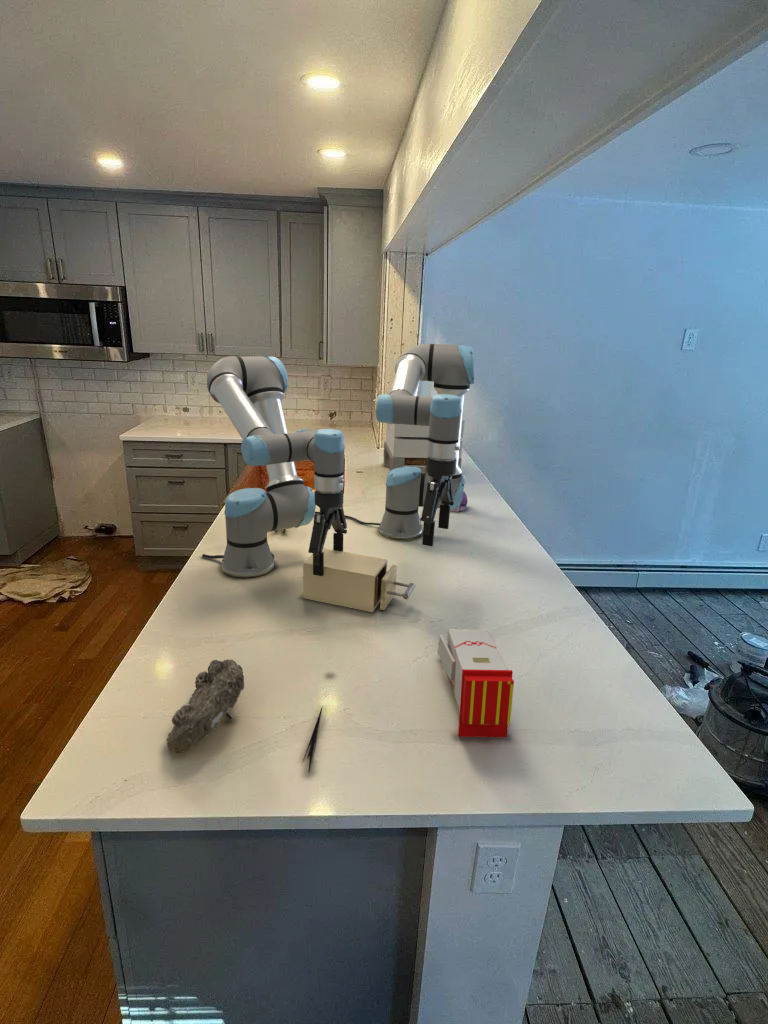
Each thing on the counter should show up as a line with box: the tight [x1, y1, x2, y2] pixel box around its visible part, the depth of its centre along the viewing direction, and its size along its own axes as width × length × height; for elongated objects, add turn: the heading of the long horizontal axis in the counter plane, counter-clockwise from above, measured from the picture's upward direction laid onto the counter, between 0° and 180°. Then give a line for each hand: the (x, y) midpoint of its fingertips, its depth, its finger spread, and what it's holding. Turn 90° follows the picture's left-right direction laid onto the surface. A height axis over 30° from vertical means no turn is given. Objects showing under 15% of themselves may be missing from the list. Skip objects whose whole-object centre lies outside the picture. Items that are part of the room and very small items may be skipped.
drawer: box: [374, 564, 416, 611], centre depth 152 cm, size 25×10×9 cm, turn 72°
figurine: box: [450, 471, 468, 512], centre depth 225 cm, size 9×10×15 cm
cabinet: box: [302, 547, 388, 613], centre depth 154 cm, size 20×11×11 cm, turn 72°
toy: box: [437, 628, 515, 738], centre depth 117 cm, size 12×13×30 cm
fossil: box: [166, 658, 245, 754], centre depth 106 cm, size 22×10×15 cm
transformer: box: [383, 418, 465, 472], centre depth 268 cm, size 34×33×41 cm
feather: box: [301, 673, 332, 771], centre depth 108 cm, size 2×28×2 cm
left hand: (328, 565), depth 154 cm, fingers open, 13 cm apart
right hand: (435, 536), depth 149 cm, fingers open, 13 cm apart
